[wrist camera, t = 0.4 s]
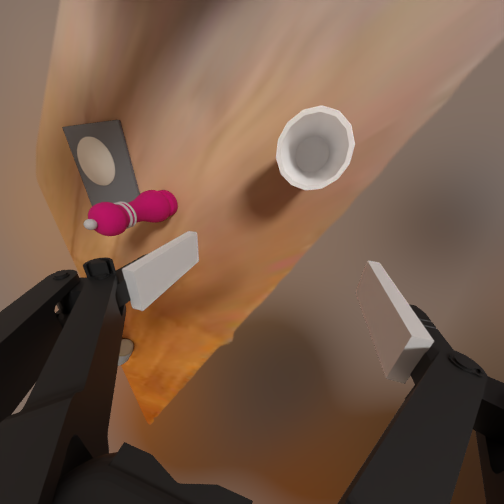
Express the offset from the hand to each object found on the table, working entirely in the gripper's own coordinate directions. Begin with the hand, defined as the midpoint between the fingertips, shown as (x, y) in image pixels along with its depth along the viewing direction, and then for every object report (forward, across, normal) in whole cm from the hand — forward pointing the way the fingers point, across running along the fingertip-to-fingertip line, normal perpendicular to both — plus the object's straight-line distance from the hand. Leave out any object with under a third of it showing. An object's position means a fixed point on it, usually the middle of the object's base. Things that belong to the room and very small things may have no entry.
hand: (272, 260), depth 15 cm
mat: (+28, -48, +2) cm, 56 cm away
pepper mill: (+28, -31, -4) cm, 42 cm away
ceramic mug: (+28, -60, -66) cm, 93 cm away
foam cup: (+28, +2, +8) cm, 30 cm away
